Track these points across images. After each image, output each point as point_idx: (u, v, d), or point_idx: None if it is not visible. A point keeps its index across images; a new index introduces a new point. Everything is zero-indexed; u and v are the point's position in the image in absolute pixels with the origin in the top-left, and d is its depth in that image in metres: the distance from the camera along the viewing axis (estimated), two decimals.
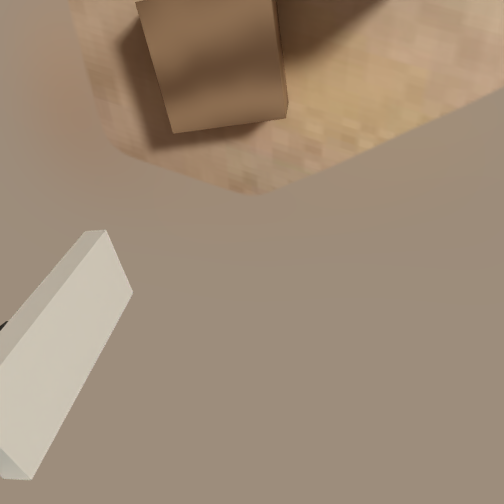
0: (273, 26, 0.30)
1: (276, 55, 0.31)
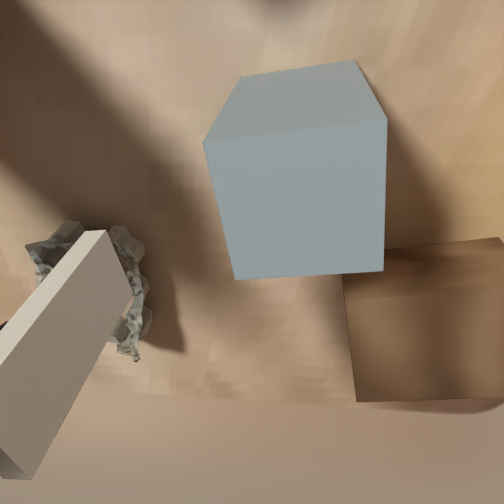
0: (401, 297, 0.23)
1: (437, 294, 0.23)
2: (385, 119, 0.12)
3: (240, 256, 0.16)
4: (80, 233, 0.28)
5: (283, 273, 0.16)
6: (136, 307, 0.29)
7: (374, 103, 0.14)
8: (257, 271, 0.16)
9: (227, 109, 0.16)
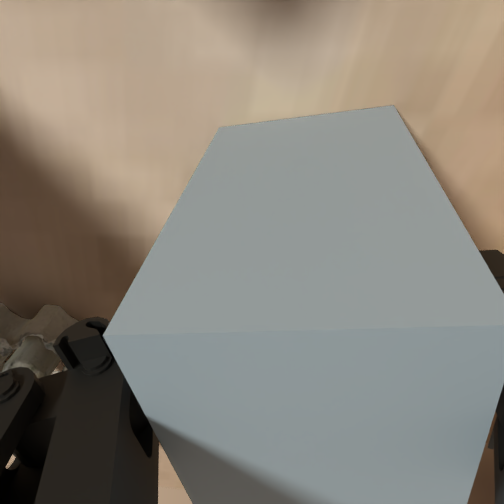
0: None
1: None
2: None
3: (199, 483, 0.09)
4: (3, 319, 0.21)
5: None
6: None
7: (466, 245, 0.07)
8: (231, 501, 0.09)
9: (180, 214, 0.09)
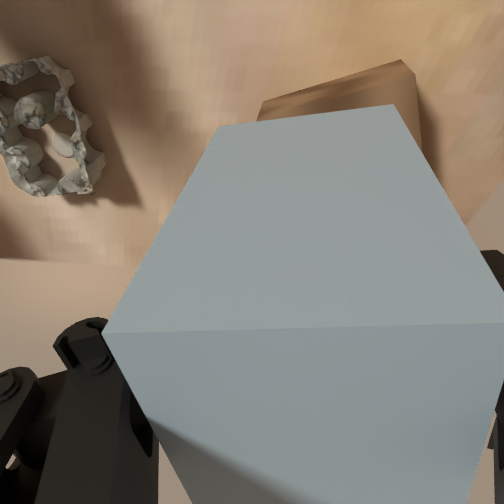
0: (303, 108, 0.26)
1: (334, 100, 0.25)
2: None
3: (198, 482, 0.09)
4: None
5: None
6: (75, 132, 0.31)
7: (466, 243, 0.07)
8: (230, 500, 0.09)
9: (180, 212, 0.09)
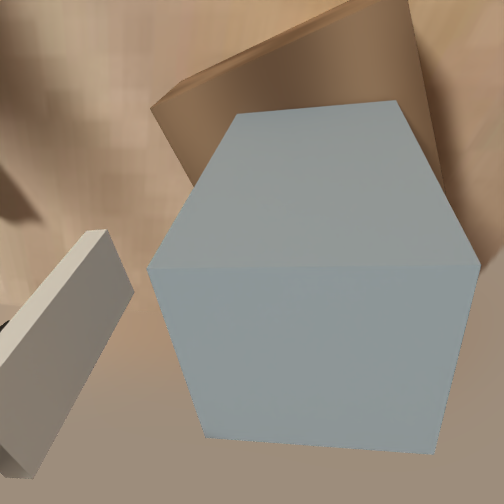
0: (220, 77, 0.15)
1: (268, 56, 0.15)
2: (476, 264, 0.07)
3: (212, 413, 0.10)
4: None
5: (277, 438, 0.11)
6: None
7: (445, 210, 0.08)
8: (238, 431, 0.11)
9: (205, 183, 0.11)
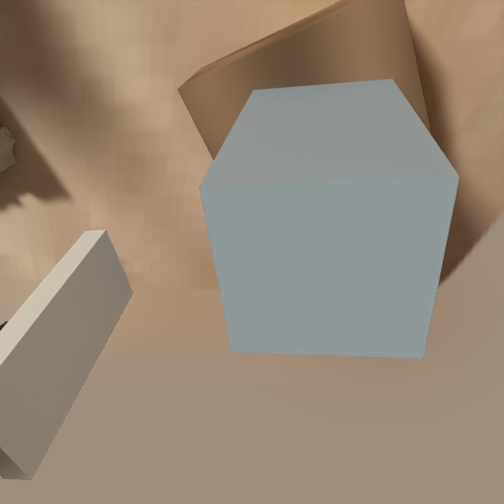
0: (240, 61, 0.17)
1: (282, 42, 0.17)
2: (456, 176, 0.09)
3: (239, 326, 0.12)
4: None
5: (293, 349, 0.13)
6: None
7: (433, 147, 0.10)
8: (260, 344, 0.13)
9: (235, 135, 0.13)
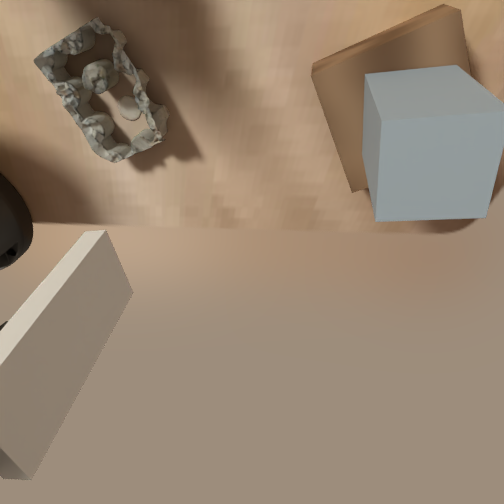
0: (355, 57, 0.28)
1: (383, 45, 0.27)
2: None
3: (384, 203, 0.23)
4: None
5: (412, 217, 0.23)
6: None
7: (496, 99, 0.21)
8: (393, 215, 0.23)
9: (378, 99, 0.23)
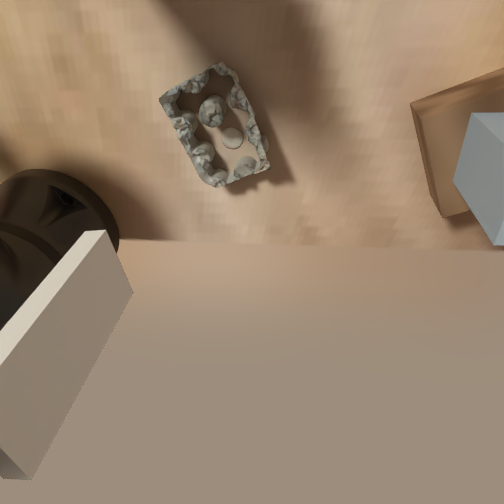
0: (463, 104, 0.32)
1: (490, 95, 0.31)
2: None
3: None
4: None
5: None
6: (249, 118, 0.37)
7: None
8: None
9: None
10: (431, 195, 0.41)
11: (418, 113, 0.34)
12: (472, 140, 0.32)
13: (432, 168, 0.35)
